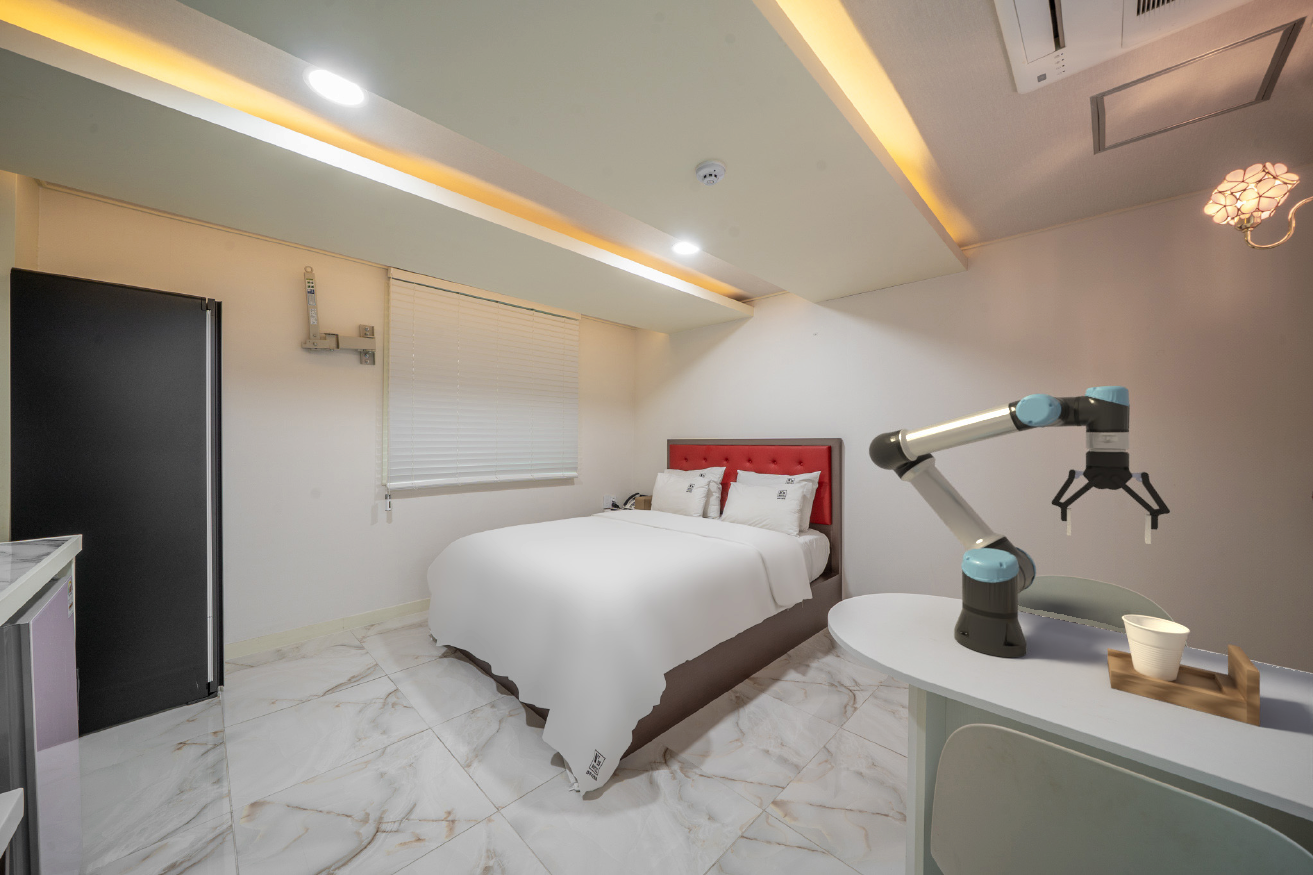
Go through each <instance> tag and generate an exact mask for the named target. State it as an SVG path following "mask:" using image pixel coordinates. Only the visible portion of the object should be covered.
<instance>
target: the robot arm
mask: <svg viewBox="0 0 1313 875" xmlns="http://www.w3.org/2000/svg"><path fill="white" fill-rule="evenodd" d="M1130 408H1131V405H1130V393H1129V389H1128V388H1126V387H1125V386H1122V385H1107V386H1094V387H1092V386H1091V387H1089V388H1087V389H1086V390H1085V394H1084V395H1081V396H1080V395H1079V396H1065V397H1064V396H1062V397H1058V396H1057V397H1056V396H1052V395H1049V394H1047V393H1034V394H1030V395H1027V396H1025V397H1023V398H1021V399H1019V400H1015V401H1012V402H1008V403H1004V404H1001V405H997V406H993V407H990V408H987V409H984V410H980V411H975V412H972V413H969V414H966V415H962V416H958V417H955V418H951V419H948V420H947V419H946V420H944V421H940V422H937V423H933V424H929V425H926V426H922V427H918V428H916V429H912V430H908V429H906V428H901V429H899V430H895V431H889V432H884V433H880V434H878V435H876V436H875V437H874V438H873V439H872V441H871V443H870V444H869V447H868V455H869V458H870V460H871V461H872V463H874V465H875V466H877V467H878V468H880V469H883V470H888V471H893V472H894V473H895V474H896V475H897V476H898V478H899V479H900V480H901V481H903V482H909V483H910V484H911V485H912V487H913V488H914V489H915V490H916V491H917V492H918V494H919V495H920V496H921V497H922V499H924V501H925V502H926V503H927V505H929V507H930V508H931V510H933V511H934V512H935V514H936V515H937V516H938V518H939V519H940V520H941V522H943V523H944V524H945V526H946V527H947V528H948V529H949V530H950V531H951V533H952V534H953V535H954V537H955V538H956V539H957V540H958V541H959V542H960V543H961V545H962V546H963V547H964V548H965V552H964V553H963V556H962V561H961V576H962V577H961V579H962V580H961V584H962V586H961V591H962V592H961V595H962V596H961V597H962V598H961V599H962V601H961V602H962V603H961V604H962V605H961V606H962V607H961V610H960V614H959V616H958V619H957V621H956V623H955V626H954V631H953V632H954V633H953V635H954V639H955V641H956V640H957V641H956V642H958V643H959V644H960V645H962V646H963V647H966V648H968V649H970V650H972V651H975V652H978V653H981V654H986V655H989V656H996V657H1002V658H1020V657H1021V658H1022V657H1024V656H1026V655H1027V653H1028V643H1027V640H1026V637H1025V635H1024V632H1023V628H1022V627H1021V624H1020V622H1019V594H1021V593H1022V592H1023V591H1025V590H1027V589H1029V587H1031V585H1032V584H1033V583H1034V581H1035V579H1036V576H1037V567H1036V564H1035V563H1036V562H1034V559H1033V558H1032V556H1031V555H1029V553H1027V552H1026V551H1025V550H1023V549H1021V548H1019V547H1016V546H1015V545H1014V544H1013V542H1011V541H1010V540H1009V538H1008V537H1007V536H1005V535H1004V534H999V533H996V532H994V531H993V529H992V528H991V527H990V526H989V525H988V523H986V522H985V520H983V518H982V517H981V516H980V515H979V514H978V513H977V512H976V510H974V508H973V507H972V506H971V505H970V504H969V502H968V501H967V500H966V499H965V498H964V496H962V495H961V494H960V492H958V490H957V489H956V488H955V487H954V486H953V484H952V483H950V481H949V480H948V479H947V478H946V477H945V476H944V475H943V474H942V472H941V471H940V470H939V469H938V468H937V467H936V457H934V456H933V453H936V452H942V451H944V450H949V449H953V448H956V447H961V446H966V445H969V444H974V443H978V442H982V441H986V440H990V439H994V438H995V439H996V438H999V437H1003V436H1006V435H1011V434H1014V433H1020V432H1023V431H1025V432H1026V431H1029V430H1032V429H1037V428H1043V429H1044V428H1054V427H1055V428H1062V427H1066V428H1067V427H1085V448H1086V449H1087V450H1088V451H1086V452H1085V469H1084V470H1076V469H1073V468H1071V469H1069V471H1068V476H1067V478H1066V480H1065V481H1064V483H1063V485H1061V487H1060V489H1059V490H1058V492H1057V493H1056V494H1055V496H1054V497H1053V498H1052V500H1051V505H1052V506H1056V507H1058V508H1060V520H1061V522H1066V536H1072V508H1070V506H1071V505H1072V504H1073V503H1075V502H1076V501H1077V500H1078V499H1079V498H1081V497H1082V496H1083V495H1085V494H1086V493H1087V492H1088V491H1090V490H1091V489H1092V488H1095V489H1098V490H1110V491H1111V490H1112V491H1117V490H1120V489H1122V490H1123V491H1124V492H1125V493H1127V494H1128V495H1129V496H1130V497H1131V498H1132V499H1134V500H1135V502H1137V503H1138V505H1140V506H1141V507H1142V508H1144V509H1145V511H1147V512H1148V513H1149V514H1148V513H1147V514H1146V513H1145V514H1144V543H1145V544H1146V545H1152V530H1158V529H1159V516H1161V515H1165V514H1166V515H1167V514H1170V513H1171V511H1170V509H1169V507H1168V506H1167V504H1166V503H1165V501H1164V500H1163V499H1162V497H1161V496H1160V494H1159V493H1158V492H1157V490H1156V488H1155V487H1154V486H1153V484H1152V483H1151V481H1150V474H1149V473H1148V472H1146V471H1141V472H1131V471H1130V453H1129V452H1128V451H1126V450H1129V449H1130V413H1131V412H1130V410H1131V409H1130ZM1081 476H1083V477H1084V479H1086V481H1088V482H1086V483H1085V484H1083V486H1082V487H1080V488H1079V489H1078V490H1076V491H1075V492H1074V493H1073V494H1072V495H1070V496H1069V497H1068V498H1067V499H1065V500H1064V501H1063V502H1062V501H1061V500H1062V499H1063V497H1064V495H1065V494H1066V493H1067V491H1068V490H1069V488H1070V487H1071V486H1072V484H1073V483H1074V481H1075V480H1077V479H1079V478H1080V477H1081ZM1132 478H1134V479H1136V481H1137V482H1140V483H1141V484H1142V486H1143V487H1144V489H1146V492H1147V493H1148V494H1149V496H1150V497H1151V498H1152V500H1153V502H1154V503H1155V504H1156V506H1157V507H1158V508H1154V507H1153V506H1152V505H1151V504H1149V503H1148V502H1147V501H1146V500H1145V499H1143V497H1141V495H1139V494H1138V493H1137V492H1136V491H1134V489H1133V488H1132V487H1130V486H1129V485H1128V484H1127V483H1128V482H1129V481H1130V480H1132Z"/></svg>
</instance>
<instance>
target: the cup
mask: <svg viewBox="0 0 1313 875" xmlns="http://www.w3.org/2000/svg"><path fill="white" fill-rule="evenodd" d="M1121 620H1123V623H1124V627H1125V633H1126V637H1127V640H1128V646H1129V650H1130V652H1129V653H1131V656H1132V661H1133V666H1134V669H1135V670H1136V671H1137V672H1138V673H1140V674H1142V675H1144V676H1147V677H1151V678H1155V679H1159V680H1164V681H1173V680H1176V678H1177V674H1178V670H1179V666H1180V664H1181V662H1182V658H1183V654H1184V649H1185V646H1186V643H1187V639H1188V635H1189V634H1190V633H1191V630H1190V629H1189V628H1188V627H1187V626H1185V625H1182V624H1180V623H1178V622H1174V621H1172V620H1167V619H1164V618H1159V617H1155V616H1149V615H1143V614H1124V615H1123V616H1121Z"/></svg>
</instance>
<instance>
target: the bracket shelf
mask: <svg viewBox="0 0 1313 875" xmlns="http://www.w3.org/2000/svg"><path fill="white" fill-rule="evenodd" d="M1106 650H1107V652H1106V653H1107V655H1106V656H1107V658H1106V659H1107V660H1106V661H1107V668H1108V669H1107V670H1108V675H1109V681H1110V689H1114V690H1119V691H1122V692H1125V693H1129V694H1133V695H1137V696H1141V697H1145V698H1148V699H1153V700H1157V701H1159V702H1160V701H1161V702H1164V703H1168V704H1172V705H1176V706H1180V707H1183V708H1186V709H1187V708H1188V709H1190V710H1191V709H1192V710H1195V711H1199V712H1203V713H1207V714H1210V715H1214V716H1218V717H1222V718H1226V719H1230V720H1234V721H1237V722H1241V723H1245V724H1249V725H1253V726H1255V727H1260V726H1261V720H1260V719H1261V716H1260V714H1261V711H1260V710H1261V709H1260V707H1261V706H1260V705H1261V702H1260V700H1261V685H1260V684H1261V672H1260V671H1259V669H1258V668H1257V667H1256V665H1255V664H1254V663H1253V662H1252V661H1251V659H1250V658H1249V657H1248V655H1247V654H1246V652H1244V650H1243V649H1242V648H1241V646H1237V645H1234V644H1227V673H1223V672H1218V671H1213V670H1210V669H1203V668H1200V667H1196V666H1191V665H1185V664H1182V663H1180V666H1179V670H1178V674H1177V678H1176V680H1173V681H1164V680H1159V679H1155V678H1151V677H1147V676H1144V675H1142V674H1140V673H1138V672H1137V671H1136V670H1135V669H1134V666H1133V661H1132V656H1131V652H1126V651H1123V650H1118V649H1113V648H1109V647H1107V649H1106Z"/></svg>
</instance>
